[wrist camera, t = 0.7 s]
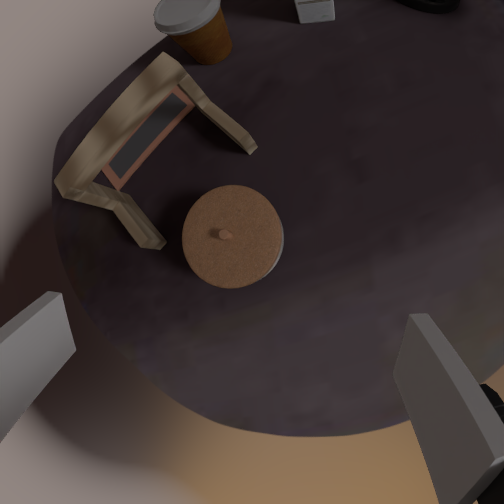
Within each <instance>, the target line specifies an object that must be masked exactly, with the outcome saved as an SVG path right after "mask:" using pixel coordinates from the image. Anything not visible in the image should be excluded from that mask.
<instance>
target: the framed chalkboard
mask: <svg viewBox="0 0 504 504" xmlns="http://www.w3.org/2000/svg"><path fill="white" fill-rule="evenodd" d="M194 107H195V105H194V104H193V103H192V101H191V100H190V99H189V98H188V97H187V96H186V95H185V94H184V93H183V92H182V91H181V90H180V89H179V87H178V86H177V85H176V86H175V87H174V88H173V89H172V90H171V91H170V92H169V93H168V94H167V95H166V96H165V97H164V98H163V99H162V100H161V101H160V102H159V103H158V104H157V105H156V106H155V108H154V109H153V110H152V111H151V112H150V113H149V114H148V115H147V116H146V117H145V118H144V119H143V120H142V122H141V123H140V124H139V125H138V126H137V127H136V128H135V129H134V131H133V132H132V133H131V134H130V135H129V136H128V137H127V139H126V140H125V141H124V142H123V143H122V145H121V146H120V147H119V148H118V149H117V151H116V152H115V153H114V154H113V155H112V157H111V158H110V159H109V160H108V162H107V163H106V164H105V165H104V167H103V168H102V169H101V170H102V171H103V172H104V174H105V175H106V176H107V178H108V179H109V180H110V182H111V183H112V184H113V186H114V187H115V188H116V190H117V191H119V190H120V189H121V188H122V187H123V185H124V184H125V183H126V182H127V180H128V179H129V178H130V177H131V176H132V174H133V173H134V172H135V171H136V170H137V169H138V167H139V166H140V165H141V164H142V163H143V162H144V160H145V159H146V158H147V157H148V156H149V155H150V154H151V152H152V151H153V150H154V149H155V148H156V147H157V146H158V145H159V144H160V143H161V141H162V140H163V139H164V138H165V137H166V136H167V135H168V134H169V133H170V132H171V131H172V130H173V129H174V127H175V126H176V125H177V124H178V123H179V122H180V121H181V120H182V119H183V118H184V117H185V116H186V115H187V114H188V113H189V112H190V111H191V110H192V109H193V108H194Z"/></svg>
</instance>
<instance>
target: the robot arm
mask: <svg viewBox="0 0 504 504" xmlns="http://www.w3.org/2000/svg"><path fill="white" fill-rule="evenodd" d="M398 1H399V2H401V3H403V4H405V5H407V6H410V7H412V8H415V9H418V10H421V11H425V12H430V13H448V12H451V11H453V10H455V9H456V8H457V7H458V4H459V1H460V0H398ZM75 351H76V348H75V345H74V341H73V337H72V334H71V330H70V326H69V323H68V319H67V314H66V310H65V306H64V302H63V297H62V294H61V293H57V292H50V291H48V292H47V293H45V294H44V295H42V296H41V297H40V298H39V299H37V300H36V301H34V302H33V303H32V304H31V305H29V306H28V307H27V308H25V309H24V310H23V311H22V312H20V313H19V314H18V315H16V316H15V317H14V318H12V319H11V320H10V321H9V322H7V323H6V324H5V325H4V326H2V327H1V328H0V442H1V441H2V440H3V439H4V437H5V436H6V435H7V433H8V432H9V431H10V429H11V428H12V427H13V426H14V424H15V423H16V422H17V420H18V419H19V418H20V417H21V415H22V414H23V413H24V412H25V410H26V409H27V408H28V406H29V405H30V404H31V403H32V402H33V401H34V399H35V398H36V397H37V396H38V394H39V393H40V392H41V391H42V389H43V388H44V387H45V386H46V384H48V382H49V381H50V380H51V379H52V378H53V376H54V375H55V374H56V373H57V372H58V370H59V369H60V368H61V367H62V366H63V365H64V363H65V362H66V361H67V360H68V359H69V358H70V357H71V355H72V354H73V353H74V352H75ZM392 376H393V378H394V380H395V383H396V385H397V388H398V390H399V393H400V395H401V397H402V400H403V402H404V405H405V408H406V410H407V413H408V415H409V418H410V420H411V423H412V425H413V428H414V431H415V434H416V436H417V439H418V442H419V445H420V447H421V450H422V453H423V456H424V459H425V461H426V464H427V467H428V470H429V473H430V476H431V479H432V482H433V485H434V488H435V491H436V495H437V498H438V501H439V504H473V502H475V501H476V500H477V501H478V504H504V402H503V401H502V399H501V398H500V397H499V395H498V393H497V392H495V391H494V390H493V389H491V388H490V387H489V386H488V385H486V384H481V385H479V384H478V383H477V381H476V380H475V378H474V377H473V376H472V374H471V373H470V371H469V370H468V368H467V367H466V365H465V364H464V362H463V361H462V360H461V358H460V357H459V355H458V354H457V353H456V351H455V350H454V348H453V347H452V346H451V344H450V343H449V342H448V340H447V339H446V337H445V336H444V335H443V333H442V332H441V331H440V329H439V328H438V327H437V325H436V324H435V323H434V321H433V320H432V319H431V318H430V316H429V315H428V314H409V317H408V321H407V325H406V329H405V333H404V336H403V340H402V343H401V347H400V350H399V354H398V357H397V361H396V364H395V367H394V370H393V373H392Z"/></svg>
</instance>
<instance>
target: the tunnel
mask: <svg viewBox="0 0 504 504" xmlns="http://www.w3.org/2000/svg"><path fill="white" fill-rule="evenodd" d="M176 85H177V86H178V87H179V89H180V90H181V91H182V92H183V93H184V94H185V95H186V96H187V97H188V98H189V99H190V100H191V101H192V103H193V104H194V105H195V106H196V107H197V108H198V109H199V110H200V111H201V112H202V113H203V114H204V115H205V116H206V117H207V118H208V119H210V120H211V121H212V122H213V123H214V124H215V125H216V126H218V127H219V128H220V129H221V130H222V131H223V132H225V133H226V134H227V135H228V136H229V137H230V138H231V139H232V140H234V141H235V142H236V143H237V144H238V145H239V146H240V147H241V148H243V149H244V150H245V151H246V152H247V153H248V154H249V155H250V154H251V153H252V152H253V151H254V150H255V149H256V148H257V147H258V146H257V145H256V143H255V142H254V140H253V139H252V137H251V136H250V134H249V133H248V132H247V131H246V130H245V129H244V128H242V127H241V126H240V125H239V124H238V123H236V122H235V121H234V120H233V119H232V118H230V117H229V116H228V115H227V114H226V113H224V112H223V111H222V110H221V109H220V108H218V107H217V106H216V105H215V104H213V103H212V102H211V101H210V100H209V99H208V97H207V96H206V95H205V94H204V92H203V91H202V90H201V89H200V87H199V86H198V85H197V84H196V83H195V81H194V80H193V79H192V78H191V76H190V75H189V74H188V73H187V72H186V70H185V69H184V68H183V67H182V66H181V64H180V63H179V62H178V61H176V60H175V59H173V58H172V57H171V56H169V55H168V54H166V53H165V52H162V53H161V54H160V55H159V56H158V57H157V58H156V59H155V60H154V61H153V62H152V63H151V64H150V65H149V66H148V67H147V68H146V69H145V70H144V71H143V72H142V73H141V74H140V75H139V76H138V77H137V78H136V79H135V80H134V81H133V82H132V83H131V84H130V85H129V87H128V88H127V89H126V90H125V91H124V92H123V93H122V94H121V95H120V96H119V98H118V99H117V100H116V101H115V102H114V103H113V104H112V105H111V107H110V108H109V109H108V110H107V111H106V112H105V114H104V115H103V116H102V117H101V118H100V120H99V121H98V122H97V123H96V125H95V126H94V127H93V128H92V129H91V131H90V132H89V133H88V135H87V136H86V137H85V138H84V140H83V141H82V142H81V144H80V145H79V146H78V148H77V149H76V150H75V152H74V153H73V154H72V156H71V157H70V158H69V160H68V161H67V163H66V164H65V165H64V167H63V168H62V170H61V171H60V173H59V174H58V176H57V177H56V179H55V180H54V183H55V185H56V186H57V188H58V190H59V192H60V193H61V195H62V197H63V198H67V199H71V200H75V201H79V202H83V203H87V204H90V205H94V206H98V207H102V208H106V209H110V210H113V211H114V213H115V214H116V215H117V217H118V218H119V219H120V221H121V222H122V224H123V225H124V226H125V228H126V229H127V230H128V232H129V233H130V234H131V236H132V237H133V238H134V239H135V241H136V242H137V243H138V245H139V246H140V247H141V248H149V249H158V250H161V249H162V247H163V246H164V245H165V244H166V243H167V241H166V240H165V238H164V237H163V236H162V235H161V234H160V232H159V231H158V230H157V229H156V228H155V226H154V225H153V224H152V223H151V221H150V220H149V219H148V218H147V216H146V215H145V214H144V213H143V212H142V210H141V209H140V208H139V207H138V205H137V204H136V203H135V202H134V200H133V199H132V198H131V196H130V195H128V194H126V193H123V192H120V191H117V190H114V189H111V188H108V187H105V186H102V185H100V184H97V183H94V182H92V181H93V180H94V178H95V177H96V176H97V174H98V173H99V172H100V170H101V169H102V168H103V167H104V165H105V164H106V163H107V162H108V160H109V159H110V158H111V157H112V155H113V154H114V153H115V152H116V151H117V149H118V148H119V147H120V146H121V145H122V143H123V142H124V141H125V140H126V139H127V137H128V136H129V135H130V134H131V133H132V132H133V131H134V129H135V128H136V127H137V126H138V125H139V124H140V123H141V122H142V120H143V119H144V118H145V117H146V116H147V115H148V114H149V113H150V112H151V111H152V110H153V109H154V108H155V106H156V105H157V104H158V103H159V102H160V101H161V100H162V99H163V98H164V97H165V96H166V95H167V94H168V93H169V92H170V91H171V90H172V89H173V88H174V87H175V86H176Z"/></svg>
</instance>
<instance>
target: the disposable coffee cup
mask: <svg viewBox="0 0 504 504" xmlns="http://www.w3.org/2000/svg"><path fill="white" fill-rule="evenodd" d="M220 1H221V0H161V1H160V2H159V3H158V5H157V7H156V8H155V11H154V20H155V26H156V28H157V29H158V30H159V31H160V32H162V33H165V34H167V35H169V36H170V37H171V38H172V39H173V40H175V42H177V44H179V45H180V46H181V47H182V48H183V49H184V50H186V51H187V52H188V53H189V54H190V55H191V56H192V57H194V59H195V60H196V61H197V62H199V63H200V64H203V65H211V64H215V63H218V62H220V61H222V60H223V59H225V58H226V57H227V56H228V55H229V54H230V52H231V49H232V42H231V39H230V36H229V33H228V29H227V26H226V23H225V20H224V16H223V13H222V10H221V7H220Z"/></svg>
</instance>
